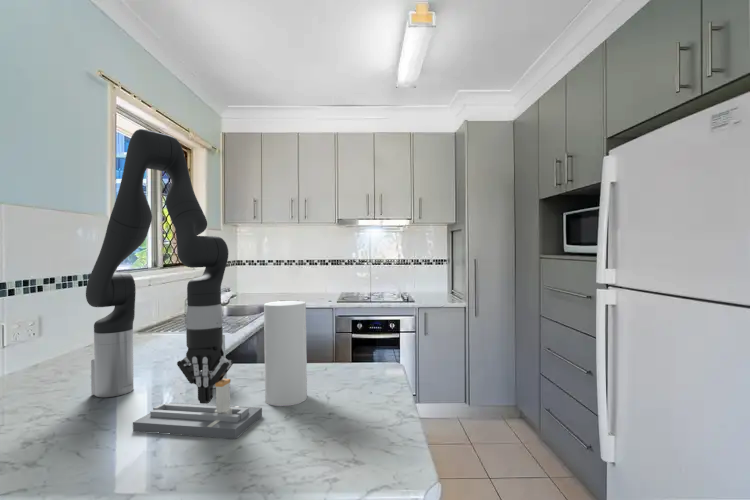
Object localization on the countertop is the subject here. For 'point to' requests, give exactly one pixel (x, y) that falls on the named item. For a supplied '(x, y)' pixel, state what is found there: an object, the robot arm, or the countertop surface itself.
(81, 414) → the countertop surface
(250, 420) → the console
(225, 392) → the fader tab
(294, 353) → the tall pillar cylinder
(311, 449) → the countertop surface
